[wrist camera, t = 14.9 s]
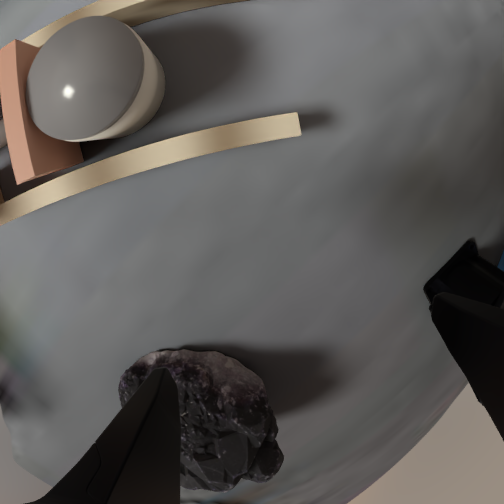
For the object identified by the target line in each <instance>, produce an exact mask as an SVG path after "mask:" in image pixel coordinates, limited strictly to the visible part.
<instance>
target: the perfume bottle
mask: <svg viewBox="0 0 504 504" xmlns="http://www.w3.org/2000/svg"><path fill="white" fill-rule="evenodd" d="M497 267H498V268H500V269H501V270H503V271H504V251H503V254H502V256H501V259H500V261H499V264H498V266H497Z"/></svg>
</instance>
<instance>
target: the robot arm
mask: <svg viewBox="0 0 504 504" xmlns="http://www.w3.org/2000/svg"><path fill="white" fill-rule="evenodd" d="M429 288H430V289H429ZM423 290H424V293H425V295H426V297H427V299H428V301H429V303H430V306H429V310H430V312H431V317H432V321H433V323H434V324H435V326H436V328H437V330H438V332H439V333H440V335H441V337H442V339H443V341H444V342H445V344H446V346H447V348H448V350H449V351H450V353H451V355H452V356H453V358H454V359H455V361H456V362H457V364H458V365H459V367H460V368H461V370H462V371H463V373H464V374H465V376H466V378H467V379H468V381H469V383H470V385H471V387H472V389H473V391H474V393H475V395H476V397H477V399H478V401H479V402H480V403H481V404H482V405H483V406H484V407H485V408H486V410H487V412H488V413H489V415H490V417H491V418H492V420H493V422H494V424H495V426H496V428H497V429H498V431H499V433H500V435H501V437H502V438H503V441H504V271H503V270H501V269H500V268H498V267H496V266H495V265H493V264H492V263H490V262H489V261H487V260H486V259H484V258H482V257H481V256H479V255H478V252H477V248H476V245H475V243H474V242H473V241H471V240H469V241H468V242H467V243H466V244H465V245H464V246H463V247H462V248H461V249H460V250H459V251H458V252H457V254H456V255H455V256H454V257H453V258H452V259H451V260H450V261H449V262H448V263H447V264H446V265H445V266H444V267H443V268H442V269H441V270H440V271H439V272H438V273H437V274H436V275H435V276H434V277H433V278H432V279H431V280H430V281H429V282H428V283H427V284H426V285H425V286H424V289H423ZM180 457H181V423H180V411H179V398H178V388H177V385H176V383H175V381H174V379H173V377H172V375H171V373H170V371H169V370H168V368H166V367H161V368H155V369H153V371H152V372H151V373H150V374H149V375H148V377H147V378H146V379H145V380H144V382H143V383H142V384H141V385H140V387H139V388H138V389H137V390H136V392H135V393H134V394H133V395H132V397H131V398H130V399H129V400H128V402H127V403H126V404H125V405H124V406H123V408H122V409H121V410H120V411H119V413H118V414H117V415H116V416H115V418H114V419H113V420H112V421H111V423H110V424H109V425H108V426H107V428H106V429H105V430H104V431H103V433H102V434H101V435H100V436H99V438H98V439H97V440H96V441H95V443H94V444H93V445H92V446H91V447H90V449H89V450H88V451H87V452H86V453H85V455H84V456H83V457H82V458H81V459H80V461H79V462H78V463H77V464H76V465H75V466H74V467H73V468H72V469H71V470H70V471H69V472H68V473H67V474H66V475H65V476H64V477H63V478H62V479H61V480H60V481H59V482H58V483H57V484H56V485H55V486H54V487H53V488H52V489H51V490H50V491H49V492H48V493H47V494H46V495H45V496H44V497H42V498H40V499H38V500H36V501H34V502H30V503H25V504H180Z"/></svg>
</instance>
